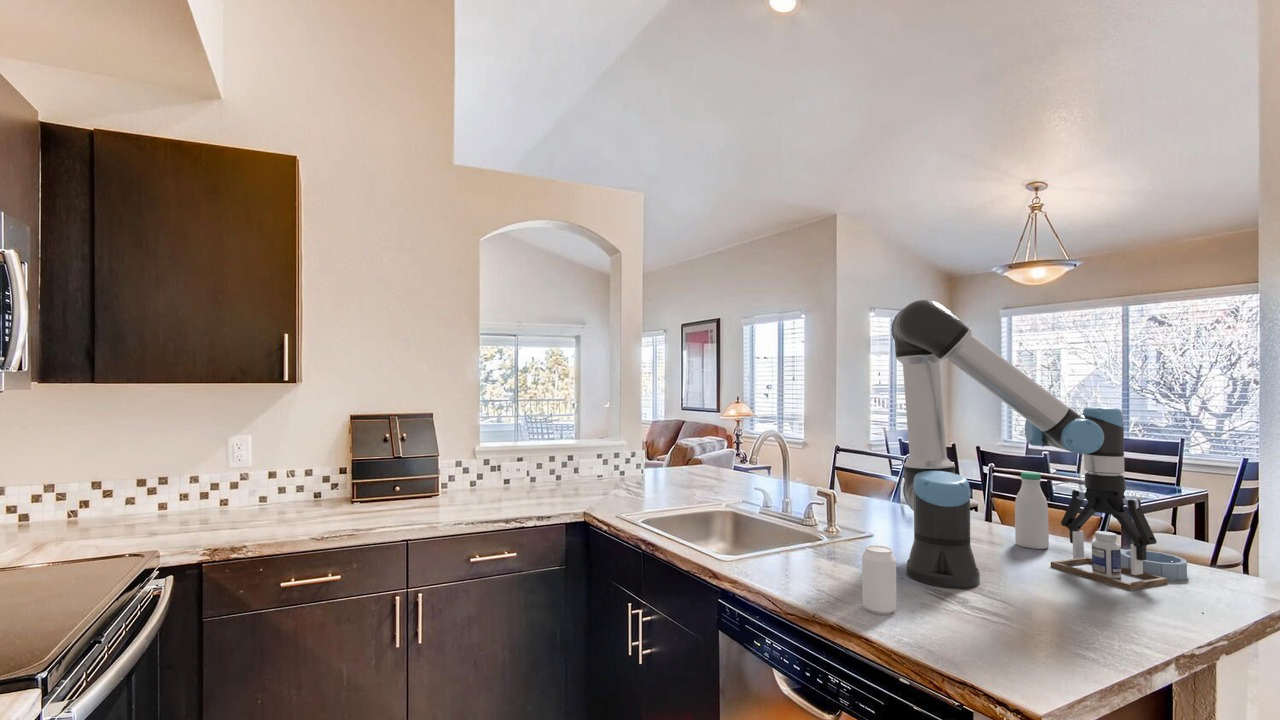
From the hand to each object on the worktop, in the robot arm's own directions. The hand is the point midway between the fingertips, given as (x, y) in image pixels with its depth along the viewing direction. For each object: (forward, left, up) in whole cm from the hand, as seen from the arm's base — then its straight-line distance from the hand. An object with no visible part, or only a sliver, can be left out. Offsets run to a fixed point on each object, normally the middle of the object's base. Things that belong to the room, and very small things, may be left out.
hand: (1106, 565), depth 143 cm
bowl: (+13, -2, -2) cm, 13 cm away
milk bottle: (+7, +24, -2) cm, 25 cm away
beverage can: (-66, -1, -2) cm, 66 cm away
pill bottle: (0, 0, -2) cm, 2 cm away
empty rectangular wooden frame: (0, 0, -2) cm, 2 cm away
